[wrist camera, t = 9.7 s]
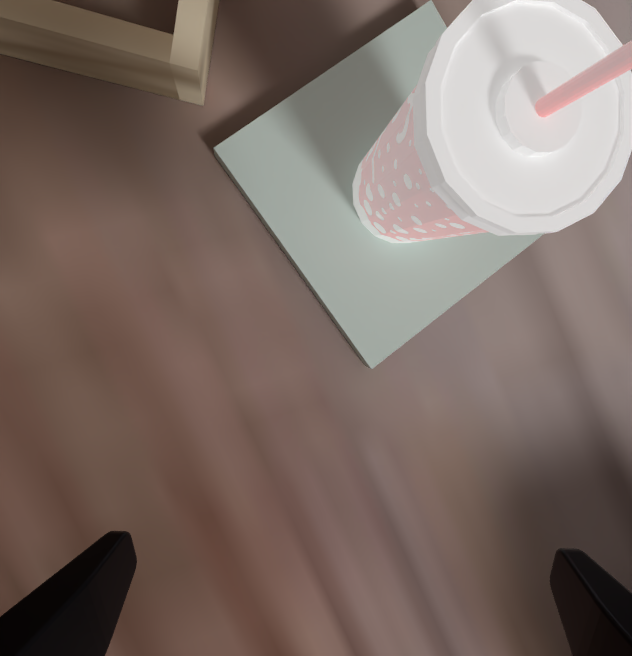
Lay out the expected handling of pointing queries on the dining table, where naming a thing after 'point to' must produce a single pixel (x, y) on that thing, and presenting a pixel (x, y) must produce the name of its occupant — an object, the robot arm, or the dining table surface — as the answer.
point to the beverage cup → (504, 127)
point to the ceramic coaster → (337, 196)
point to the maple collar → (115, 45)
